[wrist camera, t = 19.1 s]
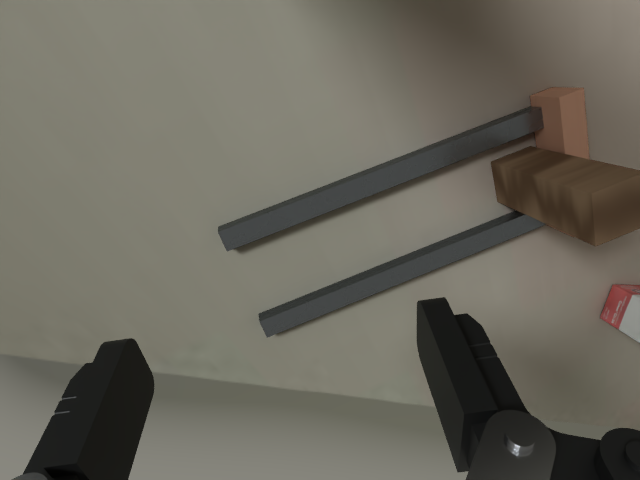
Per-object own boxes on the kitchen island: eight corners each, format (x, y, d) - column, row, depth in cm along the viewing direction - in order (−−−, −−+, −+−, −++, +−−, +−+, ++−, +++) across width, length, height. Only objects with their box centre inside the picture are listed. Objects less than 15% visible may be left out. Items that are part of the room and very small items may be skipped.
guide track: (218, 226, 40) (218, 232, 39) (531, 106, 42) (541, 107, 41) (265, 329, 45) (267, 337, 43) (545, 216, 47) (555, 220, 45)
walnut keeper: (490, 161, 43) (591, 193, 31) (530, 146, 43) (645, 171, 31) (497, 201, 45) (595, 246, 33) (535, 186, 45) (646, 225, 33)
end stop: (529, 95, 42) (559, 97, 38) (552, 87, 42) (583, 88, 38) (546, 224, 47) (573, 237, 43) (566, 216, 47) (594, 228, 43)
